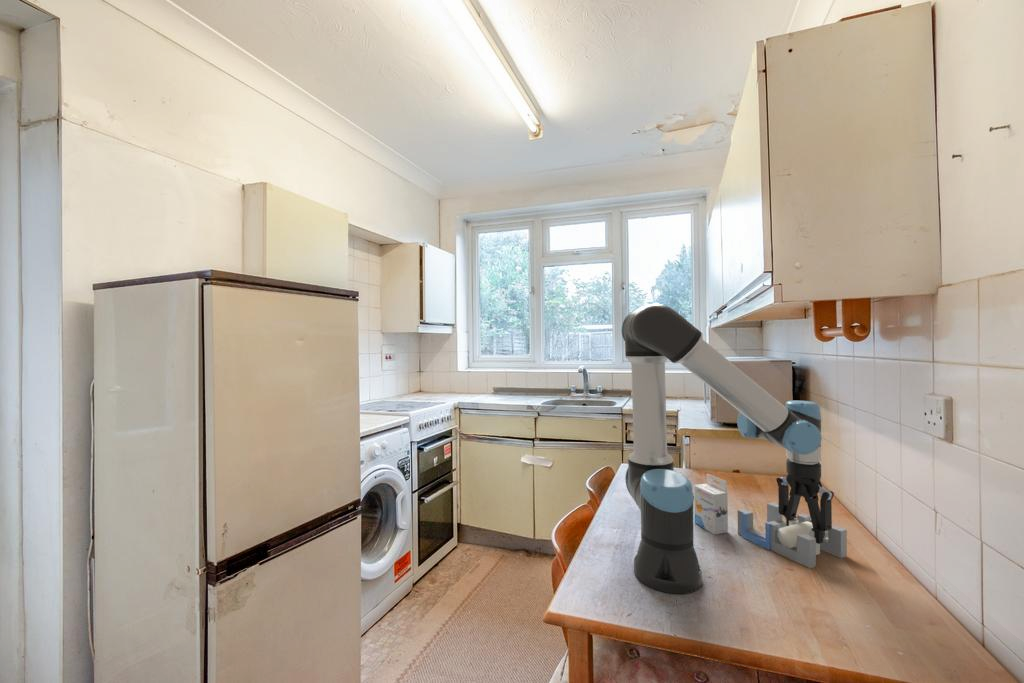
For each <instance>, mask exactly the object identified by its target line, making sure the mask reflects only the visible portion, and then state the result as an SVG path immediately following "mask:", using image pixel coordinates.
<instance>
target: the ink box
mask: <svg viewBox="0 0 1024 683" xmlns="http://www.w3.org/2000/svg"><path fill="white" fill-rule="evenodd" d="M715 481H716V482H718V483H716V482H715ZM693 486H694V523H695V524H696V525H698V526H699V527H701V528H703V529H705V530H706V531H708V532H709V533H711V534H713V535H714V536H715V535H719V534H726V533H728V532H729V530H728V529H729V526H728V524H729V522H728V520H729V519H728V518H729V516H728V514H729V513H728V510H729V509H728V498H729V497H728V496H729V495H728V482H727V481H726V480H724V479H722V478H719V477H717V476H714V475H712V474H709V473H706V483H699V484H694V485H693Z"/></svg>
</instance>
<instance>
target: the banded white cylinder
mask: <svg viewBox="0 0 1024 683" xmlns="http://www.w3.org/2000/svg"><path fill="white" fill-rule="evenodd" d="M811 528H813V525H812V521H811V519H810V520H809V521H805V522H802V523H798V524H794V525H790V526H786V527H782V528H780V529H779V530H778V532H777V535H778V539H779V541H780V542H781V543H782V544H783V545H784V546H785V547H788V548H793V547H796V548H797V535H799V534H803V533H804V534H806V535H809V536H810V529H811ZM824 538H826V539H828V530H827V531H823V539H824Z"/></svg>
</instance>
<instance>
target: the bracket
mask: <svg viewBox="0 0 1024 683" xmlns="http://www.w3.org/2000/svg"><path fill="white" fill-rule="evenodd" d="M796 517H797V518H796V519H797V520H798V521H799V523H802V522H805V521H809V520H811V517H810V515H807V514H805V513H800V514H796ZM782 527H786V521H783V515H780V514H779V503H776V502H773V501H772V502H768V503H766V522H765V528H764V529H765V532H763V531H761V530H758V529H757V528H756V529H755V528H754V512H752V511H750V510H747V509H745V508H742V509H738V510H737V534H738V535H740V536H742V538H743V539H745V540H748V541H750V542H752V543H753V544H756V545H758V546H760V547H762V548H763V549H766V550H769V551H773V552H775V553H777V554H779V555H781V556H784V557H785V558H788V559H790V560H791V561H793V562H796V563H798V564H800V565H802V566H804V567H805V568H806V567H807V568H809V569H811V568H815V567H817V555H816V538H814V537H811V536H809V535H806V534H804V533H803V534H799V535H797V546H796V547H793V548H788V547H785V546H784V545H783V544H782V543H781V542H780V541H779V539H778V535H777V532H778V530H779V529H780V528H782ZM847 533H848V531H847V529H846V528H844V527H840V526H837V525H835V524H832V529H831V530H828V537H827V538H824V539H823V542H822V543H820V551H823V552H826V553H827V554H829V555H830V554H831V555H833V556H835V557H837V558H840V559H843V558H847V557H848V542H847V541H848V537H847V535H848V534H847Z"/></svg>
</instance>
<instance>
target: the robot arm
mask: <svg viewBox="0 0 1024 683" xmlns="http://www.w3.org/2000/svg"><path fill="white" fill-rule="evenodd" d="M621 335H622V339H623V341H624V350H625V351H624V352H625V353H624V354H625V356H624V357H625V358H626V359H627V360H628V362H630V364H631V392H632V393H631V397H632V398H631V399H632V402H631V403H632V431H633V432H632V433H633V435H632V436H633V437H632V438H633V451H632V452H631V453H630V454H628V456H627V460H628V461H627V462H628V464H627V465H628V466H627V468H626V471H625V477H624V478H625V479H624V480H625V485H626V488H627V491H628V493H629V495H630V496H631V498H632V499H633V501H634V502H635V505H636V506H637V507H638V509H639V511H640V533H641V534H640V536H641V537H640V542H639V545H638V548H637V553H636V555H635V557H634V559H633V572H634V575H635V577H636V578H637V580H638V581H640V582H641V583H642V584H643V585H645V586H647V587H649V588H651V589H653V590H656V591H659V592H663V593H668V594H678V595H679V594H680V595H681V594H689V593H693V592H695V591H697V590H699V589H700V588H701V586H702V583H703V572H702V568H701V565H700V563H699V562H700V561H699V559H698V556H697V553H696V550H695V546H694V502H695V494H694V491H693V484H692V482H691V481H690V479H689V478H688V477H686V476H685V475H684V474H682V473H680V472H676V471H675V469H674V466H675V465H674V458H673V457H672V456H671V454H670V453H668V440H667V439H668V438H667V437H668V434H667V428H668V427H667V400H666V398H667V397H666V395H667V394H666V393H667V392H666V363H667V361H668V360H669V361H670V362H671V363H673V364H680V365H681V366H682V367H685V369H687V370H688V371H689V372H691V373H692V374H693V376H695V377H696V378H697V379H699V380H700V381H701V382H702V383H704V384H705V385H706V386H707V387H709V388H710V389H711V390H712V391H713V392H715V393H716V394H717V395H718V396H719V397H721V398H722V399H723V400H724V401H726V402H727V403H729V405H730V406H732V407H733V408H735V409H736V410H737V411H738V412H739V413H738V415H737V419H736V421H737V423H736V424H737V429H738V431H739V433H740V435H741V436H742V437H744V438H747V439H748V438H749V439H754V440H755V439H762V440H765V441H768V442H770V443H772V444H775V445H777V446H778V447H782V448H783V449H785V452H786V453H785V457H786V458H787V459H786V463H785V465H786V466H785V467H786V469H785V470H786V473H787V475H786V476H781V477H776V482H777V486H778V488H777V489H778V492H777V493H778V505H779V514H780V515H782V517H783V516H784V518H785V520H786V521H785V522H786V526H790V525H794V524H798V523H799V521H798V520H797V514H798V509H799V505H800V501H801V498H804V501H805V503H806V504H807V508H808V513H809V516H810V520H811V521H812V525H813V528H811V529H810V536H811V537H814V538H816V556H818V555H820V554H821V549H820V543H822V542H823V531H827V530H831V529H832V525H833V524H832V522H833V520H832V516H833V515H832V509H833V508H832V501H833V498H834V495H835V493H834V492H833V491H832V490H827V489H826V488H824V487H823V485H822V482H821V478H822V464H821V463H820V462H821V461H822V447H821V446H822V438H823V437H822V415H821V413H822V412H821V406H820V405H819V403H817V402H813V401H810V400H794V399H793V400H788V401H786V402H785V405H784V404H783V403H781V402H780V401H779V400H777V399H776V397H774V396H773V395H772V394H770V393H769V392H768V391H766V389H764V388H763V387H762V386H760V385H759V384H758V383H757V382H756V381H755V380H753V379H752V378H751V377H750V376H748V375H747V374H746V373H744V372H743V371H742V370H741V369H740V368H738V366H736V365H735V364H734V363H732V362H731V361H730V360H729V359H727V358H726V357H725V356H724V355H722V354H721V353H720V352H719V351H718V350H716V349H715V348H714V347H713V346H712V345H710V344H709V343H708V342H707V341H705V340H704V338H703V337H704V336H703V332H701V330H700V329H698V328H697V327H695V326H694V325H693V324H692V323H691V322H689V320H687V319H686V318H685V317H684V316H683V315H682V314H680V313H679V312H677V311H676V310H675V309H673V308H672V307H670V306H668V305H665V304H661V303H651V304H647V305H644V306H640V307H639V306H638V307H637V308H635V309H633V310H631V311H629V313H628V314H627V315H626V317H625V318H624V320H623V321H622V324H621ZM789 487H790V490H789ZM789 491H790V492H789ZM819 497H820V499H819ZM819 501H820V502H819Z"/></svg>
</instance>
